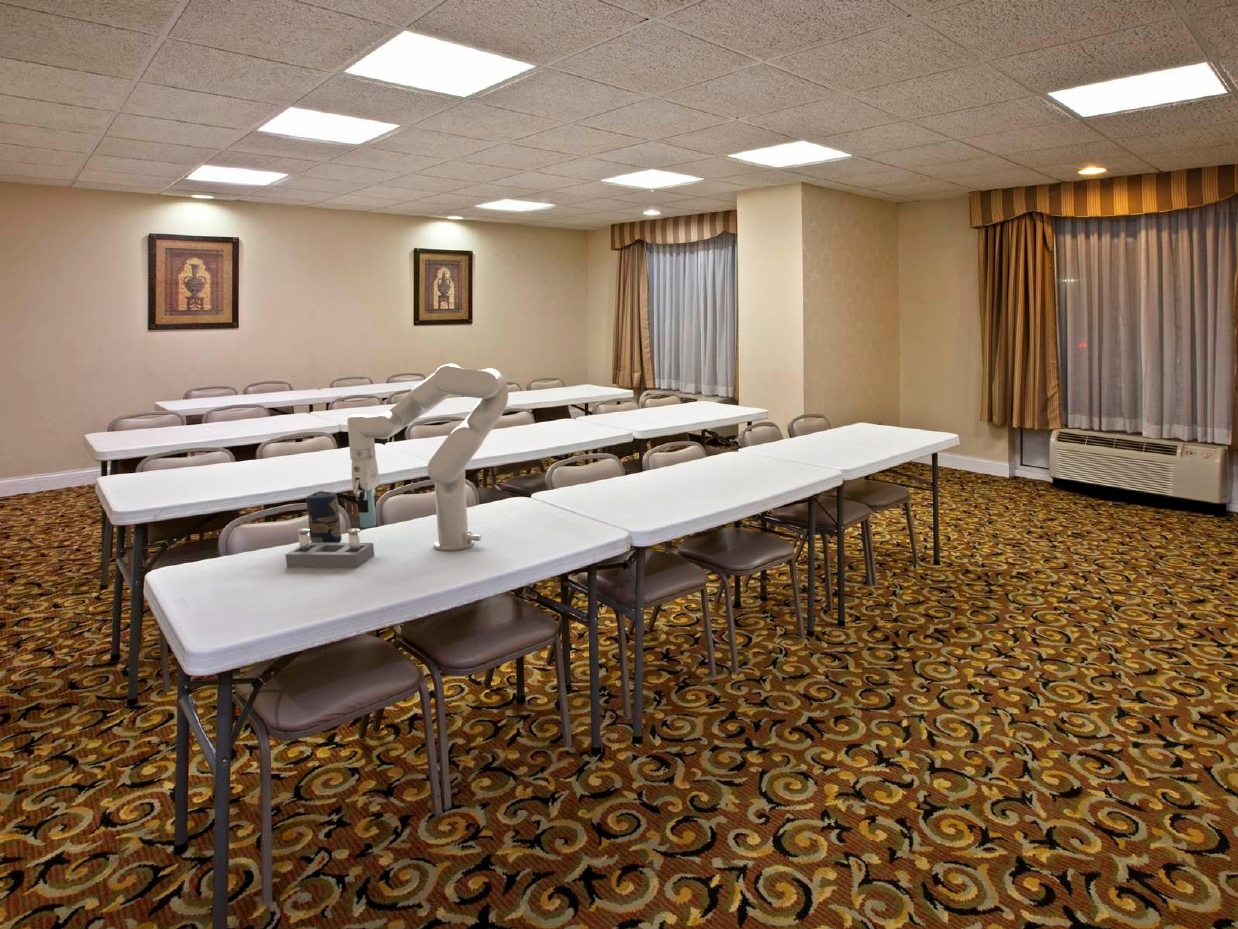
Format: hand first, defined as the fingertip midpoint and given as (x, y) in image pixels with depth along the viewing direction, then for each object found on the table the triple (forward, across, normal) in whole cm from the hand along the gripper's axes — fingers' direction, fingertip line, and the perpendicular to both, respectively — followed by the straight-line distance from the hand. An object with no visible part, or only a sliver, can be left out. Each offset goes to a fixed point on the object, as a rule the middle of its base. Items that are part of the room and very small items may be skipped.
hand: (367, 509), depth 237 cm
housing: (+13, -13, +7) cm, 19 cm away
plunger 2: (+12, -13, -1) cm, 17 cm away
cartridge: (+5, 0, 0) cm, 5 cm away
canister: (+13, +4, +17) cm, 22 cm away
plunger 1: (+12, -13, +15) cm, 23 cm away
